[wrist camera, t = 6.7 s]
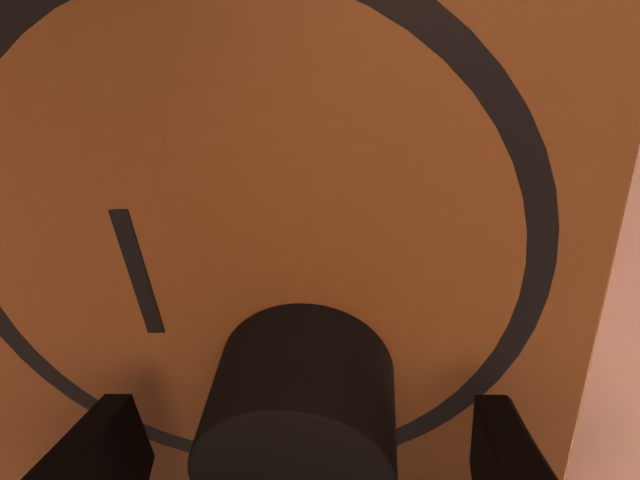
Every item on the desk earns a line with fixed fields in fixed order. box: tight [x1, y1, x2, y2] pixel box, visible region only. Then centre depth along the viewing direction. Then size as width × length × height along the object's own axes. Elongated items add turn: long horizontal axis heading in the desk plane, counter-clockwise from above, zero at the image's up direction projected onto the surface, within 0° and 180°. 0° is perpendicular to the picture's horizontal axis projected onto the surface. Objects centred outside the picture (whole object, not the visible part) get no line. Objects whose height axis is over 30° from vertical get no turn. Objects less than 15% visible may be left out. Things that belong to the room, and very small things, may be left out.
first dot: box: [187, 304, 398, 480], centre depth 12 cm, size 4×4×3 cm
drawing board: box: [0, 0, 640, 480], centre depth 13 cm, size 16×22×1 cm
